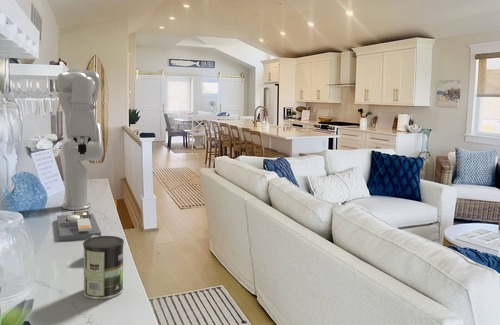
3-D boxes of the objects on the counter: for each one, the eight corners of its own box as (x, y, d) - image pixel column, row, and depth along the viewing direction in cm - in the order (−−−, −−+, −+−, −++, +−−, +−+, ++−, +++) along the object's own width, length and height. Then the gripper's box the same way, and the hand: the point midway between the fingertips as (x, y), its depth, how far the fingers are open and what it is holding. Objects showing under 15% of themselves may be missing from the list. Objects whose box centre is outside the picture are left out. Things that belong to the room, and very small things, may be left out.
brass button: (74, 215, 177) (74, 211, 177) (86, 214, 179) (86, 211, 179) (75, 218, 173) (75, 214, 172) (87, 217, 175) (87, 213, 174)
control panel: (57, 220, 176) (57, 211, 176) (92, 218, 183) (92, 209, 182) (59, 241, 152) (59, 231, 151) (101, 237, 158) (101, 227, 157)
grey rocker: (76, 221, 162) (76, 218, 162) (89, 220, 164) (89, 217, 164) (78, 231, 155) (78, 228, 154) (91, 230, 157) (91, 227, 156)
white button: (67, 219, 167) (67, 215, 167) (79, 218, 169) (79, 214, 169) (67, 222, 163) (67, 218, 163) (80, 221, 165) (80, 217, 165)
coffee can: (123, 282, 121) (123, 234, 119) (123, 298, 112) (123, 246, 110) (84, 284, 118) (84, 236, 116) (81, 301, 109) (81, 248, 107)
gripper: (100, 108, 173) (100, 152, 175) (60, 106, 166) (61, 153, 169) (103, 109, 166) (103, 155, 169) (61, 107, 159) (62, 155, 162)
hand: (82, 154), depth 169 cm, fingers closed
